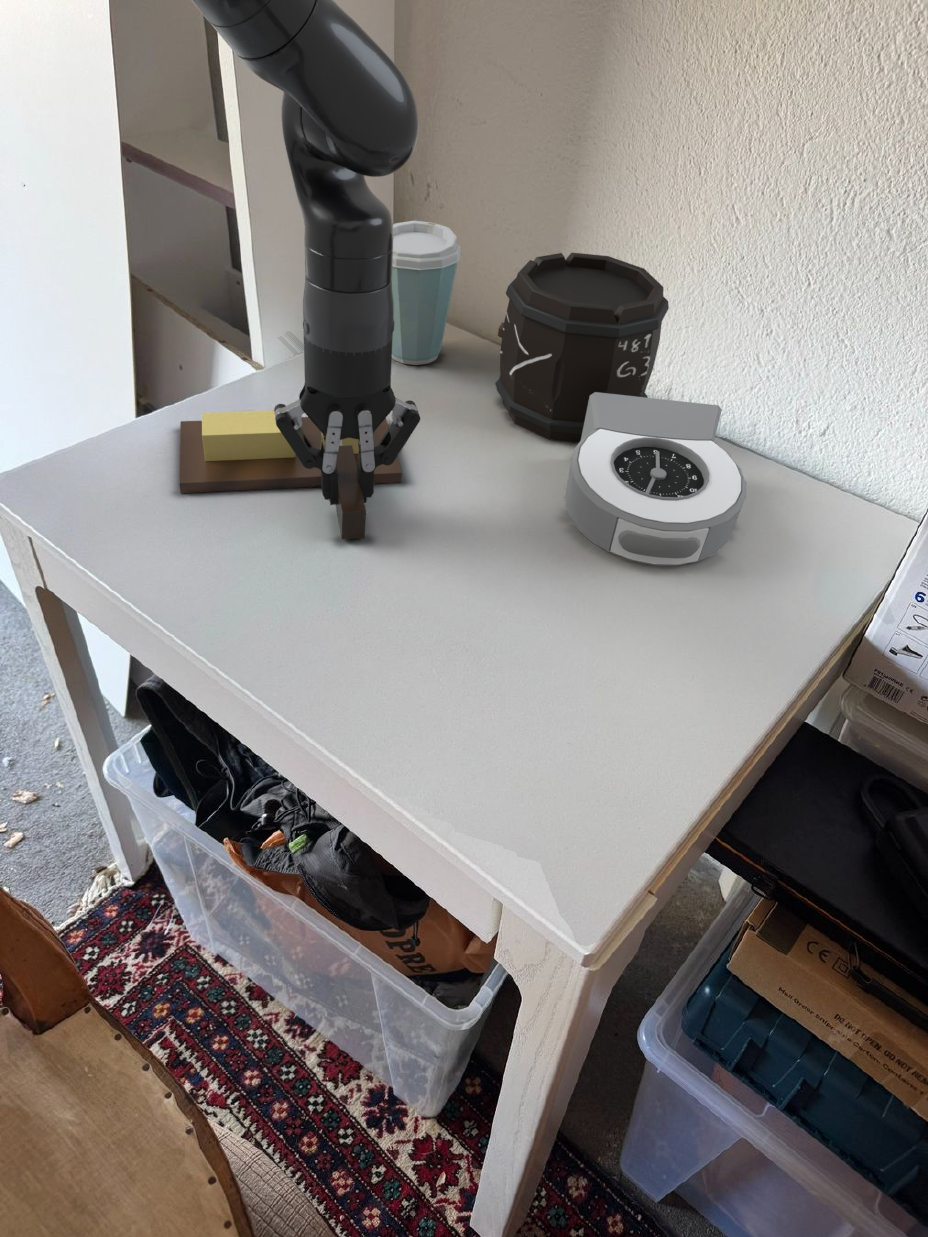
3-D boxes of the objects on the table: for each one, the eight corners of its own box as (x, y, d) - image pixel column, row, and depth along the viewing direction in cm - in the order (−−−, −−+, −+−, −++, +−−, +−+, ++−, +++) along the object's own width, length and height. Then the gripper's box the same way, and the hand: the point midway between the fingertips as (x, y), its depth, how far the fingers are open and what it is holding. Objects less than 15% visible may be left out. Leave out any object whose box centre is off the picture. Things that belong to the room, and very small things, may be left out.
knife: (365, 538, 87) (366, 511, 85) (341, 539, 87) (342, 512, 84) (337, 403, 102) (337, 376, 99) (317, 404, 101) (317, 377, 99)
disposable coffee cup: (432, 381, 113) (439, 257, 103) (354, 359, 115) (354, 236, 105) (466, 348, 120) (477, 230, 110) (392, 328, 123) (396, 211, 113)
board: (180, 493, 91) (178, 483, 90) (181, 430, 100) (180, 420, 99) (401, 482, 96) (402, 472, 95) (384, 423, 104) (384, 414, 103)
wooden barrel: (517, 360, 119) (533, 235, 108) (654, 394, 115) (684, 267, 104) (468, 423, 106) (481, 288, 95) (620, 463, 102) (651, 327, 91)
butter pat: (339, 454, 96) (339, 429, 94) (334, 432, 100) (334, 407, 98) (358, 453, 97) (358, 428, 95) (352, 431, 100) (353, 406, 98)
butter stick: (205, 461, 93) (202, 435, 91) (204, 438, 97) (201, 412, 95) (295, 457, 95) (294, 431, 93) (292, 434, 98) (291, 409, 96)
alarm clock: (738, 403, 96) (766, 525, 83) (716, 469, 102) (738, 592, 89) (573, 385, 96) (575, 504, 83) (561, 453, 102) (560, 573, 89)
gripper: (420, 310, 82) (410, 475, 94) (262, 310, 79) (271, 481, 91) (437, 348, 77) (424, 518, 88) (267, 350, 74) (277, 526, 85)
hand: (346, 498), depth 90 cm, fingers closed on knife, 2 cm apart
